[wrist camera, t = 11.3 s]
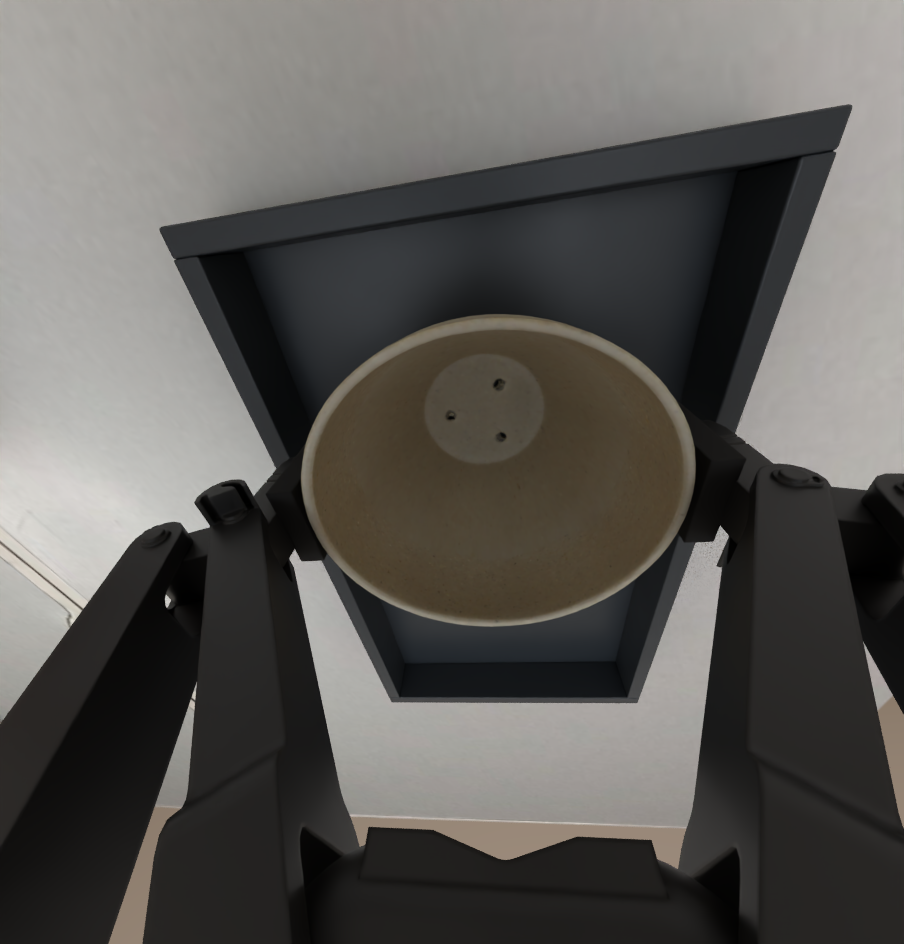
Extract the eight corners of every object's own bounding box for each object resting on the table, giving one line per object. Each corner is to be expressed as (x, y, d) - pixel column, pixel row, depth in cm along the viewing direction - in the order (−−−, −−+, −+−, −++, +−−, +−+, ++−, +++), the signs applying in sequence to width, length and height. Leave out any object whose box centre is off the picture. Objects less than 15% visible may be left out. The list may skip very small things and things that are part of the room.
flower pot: (484, 528, 19) (487, 660, 13) (326, 411, 16) (236, 519, 10) (654, 405, 15) (774, 523, 9) (487, 203, 11) (498, 172, 5)
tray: (221, 228, 12) (156, 227, 10) (762, 134, 10) (856, 101, 8) (399, 661, 29) (391, 702, 26) (622, 658, 27) (637, 703, 24)
